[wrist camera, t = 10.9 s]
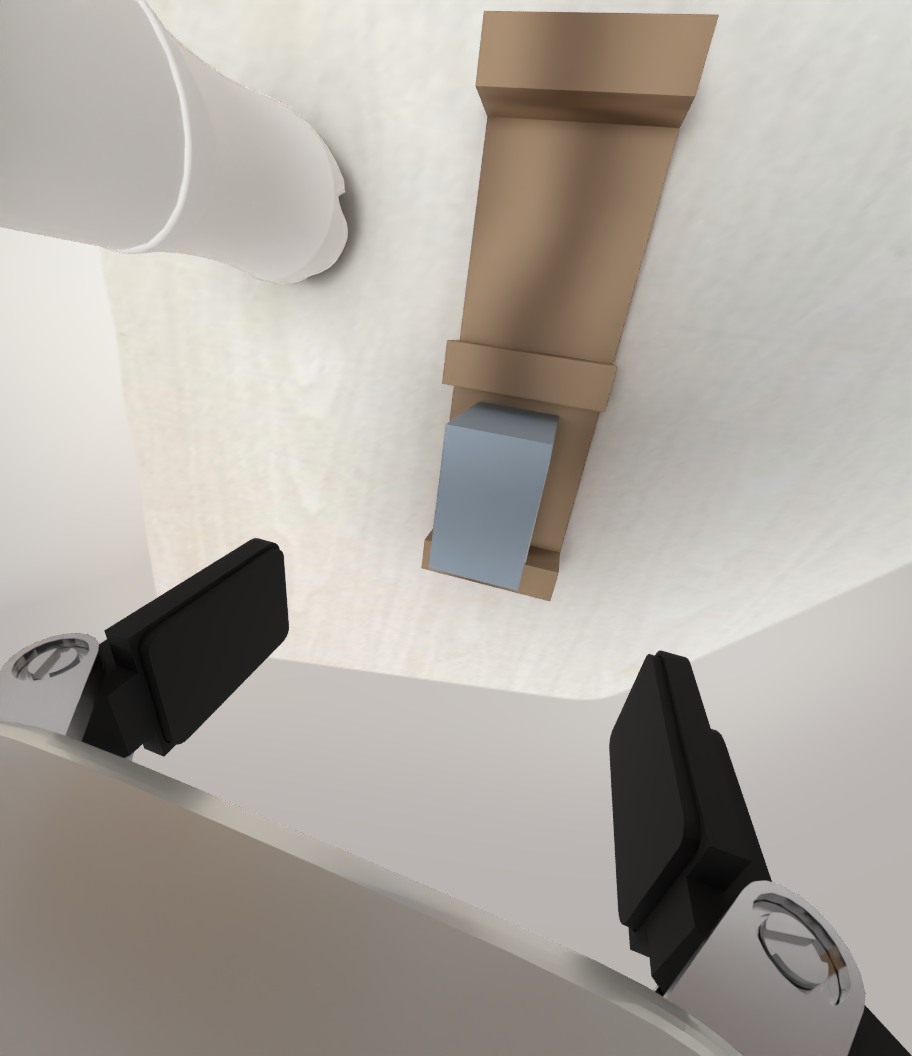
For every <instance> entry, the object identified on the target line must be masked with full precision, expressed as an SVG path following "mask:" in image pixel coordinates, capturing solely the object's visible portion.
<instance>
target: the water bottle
mask: <svg viewBox="0 0 912 1056" xmlns="http://www.w3.org/2000/svg"><path fill="white" fill-rule="evenodd" d="M344 187H345V185H344V179H343V176H342V174H341V171H340V169H339V167H338V164H337V162H336V161H335V159H334V157H333V155H332V153H331V152H330V150H329V148H328V147H327V146H326V144H325V143H324V141H323V140H322V139H321V138H320V136H319V135H318V134H317V133H316V131H315V130H314V129H313V128H312V127H311V126H310V125H309V124H308V123H307V122H306V121H305V120H304V119H302V118H301V117H300V116H299V115H298V114H297V113H296V112H295V111H293V110H292V109H291V108H289V107H288V106H286V105H285V104H284V103H282V102H280V101H278V100H276V99H275V98H273V97H270V96H268V95H265V94H263V93H260V92H257V91H255V90H252V89H250V88H248V87H246V86H244V85H241V84H239V83H237V82H235V81H233V80H231V79H230V78H228V77H226V76H224V75H223V74H221V73H220V72H219V71H217V70H216V69H214V68H213V67H211V66H210V65H208V64H207V63H205V62H204V61H203V60H201V59H200V58H199V57H198V56H196V55H195V54H194V53H193V52H191V51H190V50H189V49H188V48H187V47H185V46H184V45H183V44H182V43H180V42H179V41H178V40H177V39H176V38H175V37H174V36H173V35H172V34H171V33H170V32H169V31H168V30H167V29H166V28H165V27H164V25H163V24H162V22H161V21H160V19H159V18H158V17H157V15H156V14H155V13H154V11H153V10H152V9H151V7H150V6H149V5H148V3H147V2H146V1H145V0H0V227H2V228H8V229H13V230H18V231H24V232H29V233H34V234H39V235H44V236H50V237H54V238H60V239H65V240H70V241H75V242H80V243H86V244H91V245H96V246H100V247H103V248H106V249H109V250H112V251H116V252H121V253H128V254H137V253H149V252H170V253H181V254H188V255H194V256H200V257H204V258H208V259H212V260H215V261H218V262H221V263H224V264H227V265H230V266H232V267H234V268H236V269H239V270H241V271H243V272H245V273H247V274H249V275H251V276H252V277H254V278H257V279H259V280H263V281H269V282H274V283H284V284H295V283H298V282H300V281H302V280H305V279H307V277H309V276H312V275H316V274H319V273H321V272H323V271H325V270H327V269H328V268H330V267H331V266H332V265H333V264H334V263H335V262H336V261H337V259H338V258H339V256H340V255H341V253H342V251H343V249H344V247H345V244H346V242H347V237H348V227H347V222H346V220H345V217H344V215H343V213H342V209H341V206H340V203H339V196H340V195H342V194H343V193H345V192H346V191H345V188H344Z"/></svg>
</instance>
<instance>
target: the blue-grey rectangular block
mask: <svg viewBox="0 0 912 1056" xmlns="http://www.w3.org/2000/svg"><path fill="white" fill-rule="evenodd" d="M558 418H559V415H553V414H548V413H542V412H537V411H531V410H526V409H520V408H515V407H509V406H504V405H498V404H492V403H487V402H481V401H480V402H478V403H477V404H475V405H474V406H472V407H471V408H469V409H468V410H466V411H465V412H463V413H462V414H460V415H459V416H457V417H456V418H454V419H453V420H451V421H450V422H448V423H447V424H446V428H445V436H444V445H443V453H442V461H441V470H440V478H439V486H438V494H437V503H436V511H435V519H434V527H433V536H432V544H431V552H430V560H429V568H430V569H434V570H438V571H442V572H446V573H450V574H454V575H458V576H461V577H465V578H469V579H473V580H477V581H481V582H485V583H489V584H493V585H496V586H500V587H504V588H508V589H512V590H516V591H518V588H519V584H520V580H521V576H522V572H523V567H524V563H526V559H527V555H528V550H529V546H530V542H531V538H532V534H533V530H534V526H535V522H536V517H537V513H538V509H539V505H540V501H541V497H542V493H543V489H544V484H545V480H546V476H547V472H548V468H549V464H550V459H551V454H552V449H553V444H554V439H555V433H556V428H557V423H558Z"/></svg>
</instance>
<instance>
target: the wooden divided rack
mask: <svg viewBox="0 0 912 1056" xmlns="http://www.w3.org/2000/svg"><path fill="white" fill-rule="evenodd" d="M718 16H719V15H706V14H643V13H579V12H516V11H484V15H483V24H482V33H481V42H480V51H479V60H478V69H477V78H476V88H477V91H478V93H479V96H480V98H481V101H482V104H483V106H484V109H485V111H486V114H487V116H488V117H487V125H486V133H485V141H484V149H483V157H482V165H481V173H480V181H479V189H478V197H477V205H476V213H475V221H474V229H473V237H472V246H471V254H470V262H469V270H468V278H467V286H466V294H465V302H464V310H463V318H462V326H461V334H460V340H447V346H446V355H445V363H444V372H443V381H442V384H448V385H453V386H454V390H453V398H452V406H451V414H450V421H451V420H453V419H454V418H456V417H457V416H459V415H460V414H462V413H463V412H465V411H466V410H468V409H469V408H471V407H472V406H474V405H475V404H477V403H478V402H480V401H481V402H487V403H492V404H498V405H504V406H509V407H515V408H520V409H526V410H531V411H537V412H542V413H548V414H553V415H559V418H558V423H557V428H556V433H555V439H554V444H553V449H552V454H551V459H550V464H549V468H548V472H547V476H546V480H545V484H544V489H543V493H542V497H541V501H540V505H539V509H538V513H537V517H536V522H535V526H534V530H533V534H532V538H531V542H530V546H529V550H528V555H527V559H526V563H524V567H523V572H522V576H521V580H520V584H519V588H518V591H516V590H512V589H508V588H504V587H500V586H496V585H493V584H489V583H485V582H481V581H477V580H473V579H469V578H465V577H461V576H458V575H454V574H450V573H446V572H442V571H438V570H434V569H430V568H429V560H430V552H431V544H432V536H433V530H432V531H431V532H430V534H429V535H428V536H427V538H426V539H425V542H424V551H423V560H422V568H423V569H427V570H431V571H434V572H438V573H442V574H446V575H450V576H454V577H458V578H462V579H466V580H469V581H473V582H477V583H481V584H485V585H489V586H493V587H497V588H500V589H504V590H508V591H512V592H516V593H520V594H524V595H528V596H531V597H535V598H539V599H543V600H547V601H550V600H551V597H552V593H553V590H554V586H555V583H556V580H557V576H558V572H559V557H560V550H561V547H562V543H563V540H564V536H565V532H566V529H567V525H568V522H569V518H570V515H571V511H572V508H573V504H574V501H575V497H576V493H577V490H578V486H579V483H580V479H581V476H582V472H583V469H584V465H585V461H586V458H587V454H588V451H589V447H590V444H591V440H592V437H593V433H594V430H595V426H596V422H597V419H598V415H599V412H600V411H601V412H605V409H606V406H607V402H608V399H609V395H610V392H611V388H612V385H613V381H614V378H615V374H616V371H617V366H615V365H614V364H613V362H614V359H615V355H616V352H617V348H618V344H619V341H620V337H621V334H622V330H623V327H624V323H625V320H626V316H627V313H628V309H629V305H630V302H631V298H632V295H633V291H634V288H635V284H636V281H637V277H638V274H639V270H640V266H641V263H642V259H643V256H644V252H645V249H646V245H647V242H648V238H649V235H650V231H651V227H652V224H653V220H654V217H655V213H656V210H657V206H658V203H659V199H660V195H661V192H662V188H663V185H664V181H665V178H666V174H667V171H668V167H669V164H670V160H671V156H672V153H673V149H674V146H675V142H676V139H677V135H678V132H679V128H680V126H681V124H682V122H683V120H684V118H685V116H686V114H687V112H688V110H689V108H690V106H691V104H692V102H693V100H694V98H695V96H696V92H697V89H698V86H699V82H700V79H701V75H702V72H703V68H704V65H705V61H706V58H707V54H708V51H709V47H710V44H711V40H712V37H713V33H714V30H715V26H716V23H717V19H718Z"/></svg>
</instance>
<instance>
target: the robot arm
mask: <svg viewBox="0 0 912 1056" xmlns="http://www.w3.org/2000/svg"><path fill="white" fill-rule="evenodd" d="M288 631H289V621H288V608H287V594H286V581H285V567H284V555H283V552H282V551H281V550H280V549H279V546H278V545H277V544H276V543H273V542H269V541H266V540H262V539H258V538H254V539H251V540H250V541H248V542H246V543H245V544H243V545H242V546H240V547H238V548H237V549H235V550H234V551H232V552H230V553H229V554H227V555H225V556H224V557H222V558H221V559H219V560H217V561H216V562H214V563H213V564H211V565H209V566H208V567H206V568H205V569H203V570H201V571H200V572H198V573H196V574H195V575H193V576H192V577H190V578H188V579H187V580H185V581H184V582H182V583H180V584H179V585H177V586H175V587H174V588H172V589H171V590H169V591H167V592H166V593H164V594H163V595H161V596H159V597H158V598H156V599H155V600H153V601H152V602H150V603H148V604H146V605H145V606H143V607H142V608H140V609H138V610H137V611H135V612H134V613H132V614H130V615H129V616H127V617H126V618H124V619H122V620H121V621H119V622H117V623H116V624H114V625H113V626H111V627H110V628H108V629H106V630H105V634H106V637H107V640H105V641H104V642H102V643H101V644H99V643H98V641H97V640H96V638H94V637H92V636H90V635H88V634H81V633H71V634H62V635H57V636H53V637H49V638H46V639H43V640H41V641H38V642H35V643H33V644H31V645H29V646H27V647H25V648H23V649H22V650H20V651H19V652H17V653H16V654H15V655H13V656H12V657H11V658H10V659H9V660H8V661H7V662H6V663H5V664H4V665H3V667H2V668H1V670H0V1056H911V1054H910V1053H909V1052H908V1051H907V1050H906V1049H905V1048H904V1047H903V1046H902V1045H901V1044H900V1043H899V1041H898V1040H897V1039H896V1038H895V1037H894V1036H893V1035H892V1034H891V1033H890V1032H889V1031H888V1030H887V1028H886V1027H884V1025H883V1024H882V1023H881V1022H880V1021H879V1020H878V1019H877V1018H876V1017H875V1015H874V1014H873V1013H872V1012H871V1011H870V1010H869V1009H868V1008H867V1007H866V1006H865V1005H864V1003H865V990H864V985H863V982H862V977H861V973H860V971H859V969H858V967H857V964H856V962H855V960H854V958H853V956H852V954H851V952H850V950H849V948H848V947H847V946H846V944H845V943H844V941H843V940H842V938H841V937H840V936H839V934H838V933H837V931H836V930H835V928H834V927H833V926H832V925H831V924H830V923H829V922H828V921H827V920H826V919H825V918H824V916H823V915H822V914H821V913H820V912H819V911H818V910H817V909H816V908H815V907H813V906H812V905H811V904H809V902H807V901H806V900H805V899H804V898H802V897H801V896H800V895H799V894H797V893H795V892H793V891H791V890H790V889H788V888H786V887H784V886H782V885H780V884H776V883H773V882H772V880H771V877H770V875H769V872H768V869H767V866H766V863H765V860H764V857H763V854H762V851H761V848H760V845H759V842H758V839H757V836H756V833H755V830H754V827H753V824H752V821H751V818H750V815H749V812H748V809H747V807H746V803H745V801H744V798H743V794H742V792H741V789H740V786H739V783H738V780H737V777H736V774H735V772H734V768H733V765H732V762H731V759H730V756H729V753H728V750H727V747H726V744H725V742H724V739H723V737H722V735H721V734H720V733H719V732H717V731H716V730H713V729H711V728H710V725H709V722H708V719H707V716H706V712H705V709H704V706H703V703H702V700H701V696H700V693H699V690H698V687H697V683H696V680H695V677H694V674H693V671H692V667H691V664H690V662H689V660H688V659H687V658H686V657H682V656H679V655H675V654H672V653H668V652H664V651H658V652H657V653H656V655H655V656H654V655H651V654H648V655H647V656H646V658H645V660H644V662H643V665H642V667H641V669H640V671H639V673H638V676H637V678H636V680H635V682H634V684H633V687H632V689H631V691H630V693H629V695H628V698H627V700H626V702H625V704H624V706H623V708H622V711H621V713H620V715H619V717H618V719H617V722H616V724H615V726H614V728H613V730H612V733H611V737H610V745H609V749H610V750H609V751H610V767H611V768H610V769H611V788H612V804H613V805H612V806H613V824H614V842H615V860H616V879H617V895H618V896H617V897H618V912H619V918H620V922H621V923H622V924H623V925H625V926H627V927H629V940H630V950H633V951H635V952H638V953H640V954H642V955H645V956H647V957H649V958H650V966H651V976H652V977H653V979H654V980H655V982H656V983H657V986H656V987H655V989H654V990H651V989H649V988H648V987H646V986H644V985H642V984H640V983H638V982H636V981H634V980H632V979H630V978H628V977H626V976H624V975H622V974H620V973H619V972H617V971H615V970H612V969H611V968H609V967H607V966H605V965H603V964H601V963H599V962H597V961H595V960H593V959H591V958H588V957H586V956H584V955H582V954H579V953H577V952H575V951H573V950H571V949H569V948H566V947H564V946H562V945H560V944H558V943H555V942H553V941H551V940H549V939H546V938H544V937H542V936H540V935H538V934H535V933H533V932H531V931H529V930H527V929H524V928H522V927H520V926H518V925H515V924H513V923H511V922H509V921H507V920H504V919H502V918H500V917H498V916H495V915H493V914H491V913H488V912H486V911H484V910H481V909H479V908H477V907H474V906H472V905H469V904H467V903H465V902H463V901H460V900H458V899H456V898H453V897H451V896H449V895H446V894H444V893H442V892H440V891H437V890H435V889H432V888H430V887H428V886H425V885H423V884H421V883H419V882H416V881H414V880H412V879H409V878H407V877H405V876H402V875H400V874H398V873H395V872H393V871H390V870H388V869H386V868H384V867H381V866H379V865H377V864H374V863H372V862H370V861H367V860H365V859H363V858H360V857H358V856H355V855H353V854H351V853H349V852H346V851H344V850H341V849H339V848H337V847H334V846H332V845H330V844H327V843H325V842H323V841H320V840H318V839H316V838H313V837H311V836H309V835H306V834H304V833H301V832H299V831H297V830H294V829H292V828H290V827H287V826H285V825H283V824H280V823H278V822H275V821H273V820H271V819H268V818H266V817H263V816H261V815H259V814H256V813H254V812H252V811H249V810H247V809H244V808H242V807H240V806H237V805H235V804H233V803H230V802H228V801H226V800H223V799H220V798H218V797H216V796H214V795H211V794H209V793H206V792H204V791H201V790H199V789H197V788H194V787H192V786H190V785H187V784H185V783H182V782H180V781H178V780H175V779H173V778H170V777H168V776H166V775H163V774H161V773H158V772H156V771H154V770H151V769H149V768H146V767H144V766H141V765H139V764H137V763H134V762H132V758H133V754H134V751H135V750H136V749H138V748H139V747H140V746H141V745H142V744H143V746H144V748H145V749H147V750H149V751H152V752H154V753H156V754H159V755H161V756H165V755H166V754H167V753H168V752H169V751H170V750H171V749H172V748H173V747H174V746H175V745H176V744H181V743H183V742H185V741H186V740H187V739H188V738H189V737H190V736H191V735H192V734H193V733H194V732H195V731H196V730H197V729H198V728H199V727H200V726H201V725H202V724H203V723H204V722H205V721H206V720H207V719H208V718H209V717H210V716H211V715H212V714H213V713H214V712H215V710H217V708H219V707H220V706H221V705H222V703H224V701H225V700H226V699H227V698H228V697H229V696H230V695H231V694H232V693H233V692H234V691H235V690H236V689H237V688H238V687H239V686H240V685H241V684H242V683H243V682H244V681H245V680H246V679H247V678H248V677H249V676H250V675H251V674H252V673H253V671H255V670H256V669H257V668H258V667H259V666H260V665H261V664H262V663H263V662H264V661H265V659H267V658H268V657H269V656H270V654H271V653H272V652H273V651H274V650H275V649H276V648H277V647H278V646H279V645H280V644H281V643H282V642H283V641H284V640H285V638H286V637H287V634H288Z"/></svg>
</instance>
